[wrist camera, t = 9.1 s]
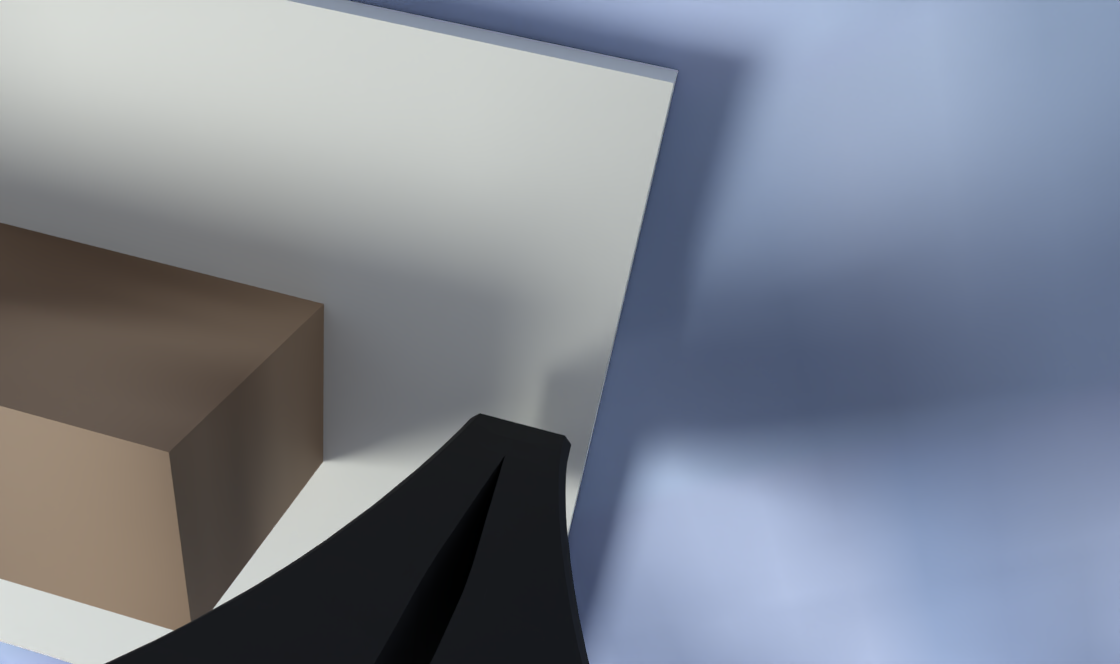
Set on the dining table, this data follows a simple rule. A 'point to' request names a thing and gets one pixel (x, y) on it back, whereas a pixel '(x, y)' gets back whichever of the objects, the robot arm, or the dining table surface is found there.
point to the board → (342, 219)
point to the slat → (146, 425)
